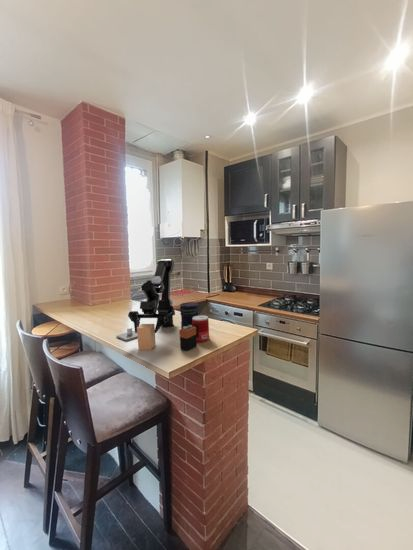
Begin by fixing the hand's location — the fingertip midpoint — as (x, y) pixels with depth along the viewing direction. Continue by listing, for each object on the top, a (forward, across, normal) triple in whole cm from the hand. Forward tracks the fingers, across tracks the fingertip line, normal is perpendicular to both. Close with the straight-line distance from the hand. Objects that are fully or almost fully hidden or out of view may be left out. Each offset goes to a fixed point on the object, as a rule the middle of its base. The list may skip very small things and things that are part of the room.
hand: (145, 332), depth 117 cm
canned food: (-3, +24, +13) cm, 27 cm away
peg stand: (-6, -14, +16) cm, 22 cm away
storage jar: (-11, +16, +21) cm, 29 cm away
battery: (+5, +19, +6) cm, 21 cm away
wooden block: (+4, 0, +6) cm, 7 cm away
